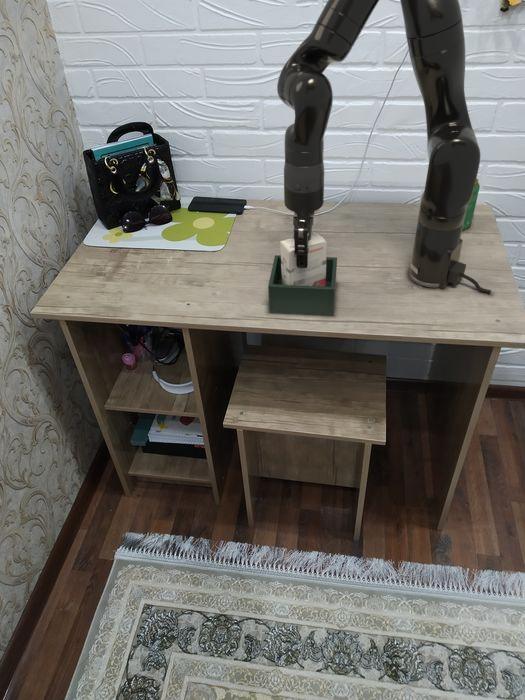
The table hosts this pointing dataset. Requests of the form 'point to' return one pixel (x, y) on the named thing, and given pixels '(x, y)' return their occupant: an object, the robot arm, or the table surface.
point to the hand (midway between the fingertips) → (303, 256)
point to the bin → (302, 293)
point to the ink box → (316, 263)
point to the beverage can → (471, 207)
